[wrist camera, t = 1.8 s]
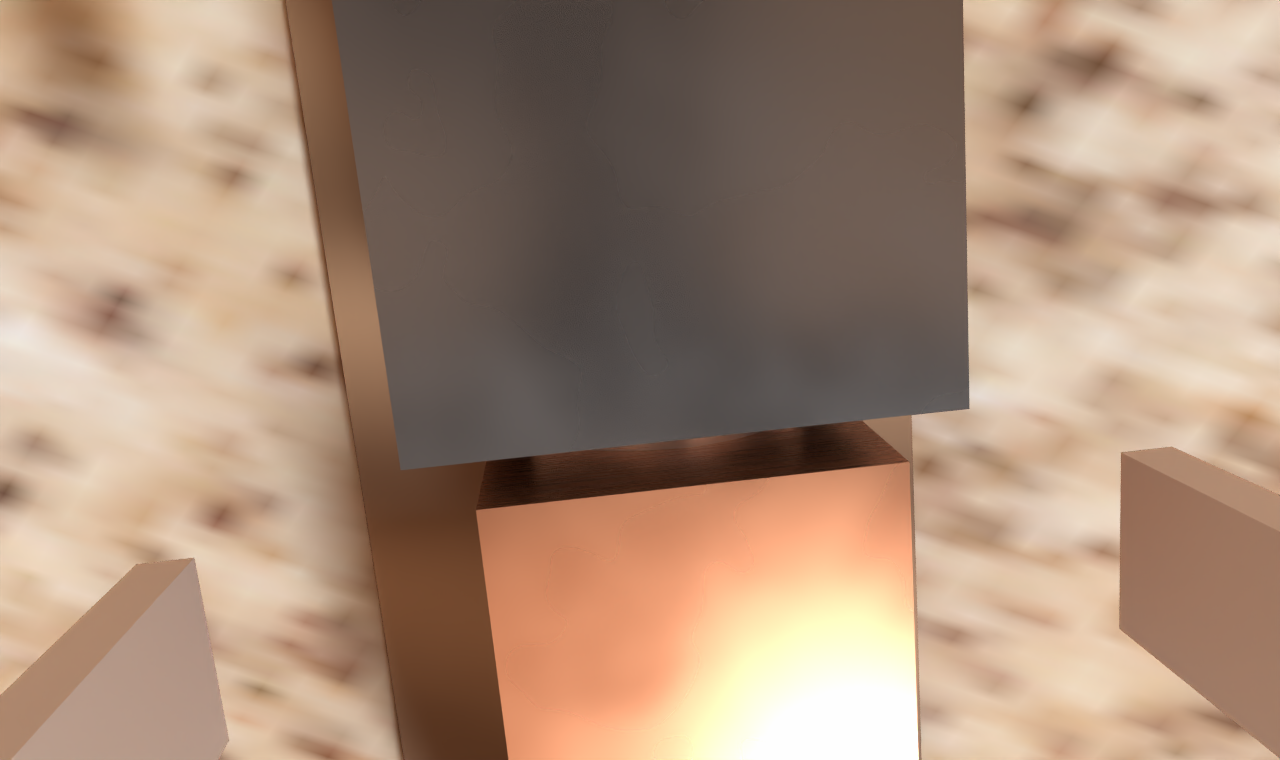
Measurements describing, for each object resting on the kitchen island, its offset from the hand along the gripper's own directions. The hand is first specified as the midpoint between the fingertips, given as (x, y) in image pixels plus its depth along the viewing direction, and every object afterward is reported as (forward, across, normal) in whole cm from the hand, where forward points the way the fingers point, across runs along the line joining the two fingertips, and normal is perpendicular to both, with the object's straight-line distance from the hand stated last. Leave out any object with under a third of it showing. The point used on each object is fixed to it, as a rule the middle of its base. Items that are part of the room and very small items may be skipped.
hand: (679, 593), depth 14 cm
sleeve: (+9, 0, +8) cm, 11 cm away
